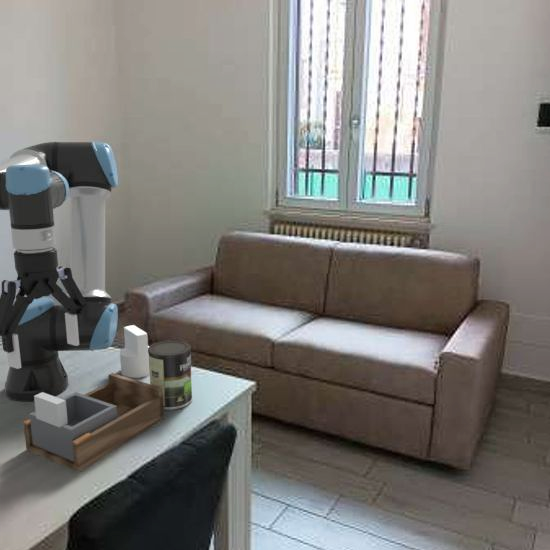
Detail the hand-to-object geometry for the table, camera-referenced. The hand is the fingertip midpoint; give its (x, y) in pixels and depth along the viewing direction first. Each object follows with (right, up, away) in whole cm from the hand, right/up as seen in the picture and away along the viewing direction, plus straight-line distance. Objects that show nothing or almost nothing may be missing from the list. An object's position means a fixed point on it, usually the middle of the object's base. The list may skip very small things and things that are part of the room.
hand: (45, 355), depth 115 cm
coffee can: (+19, -16, +31) cm, 40 cm away
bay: (+6, -20, +15) cm, 25 cm away
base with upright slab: (+7, -11, +49) cm, 50 cm away
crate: (+3, -19, +10) cm, 22 cm away
